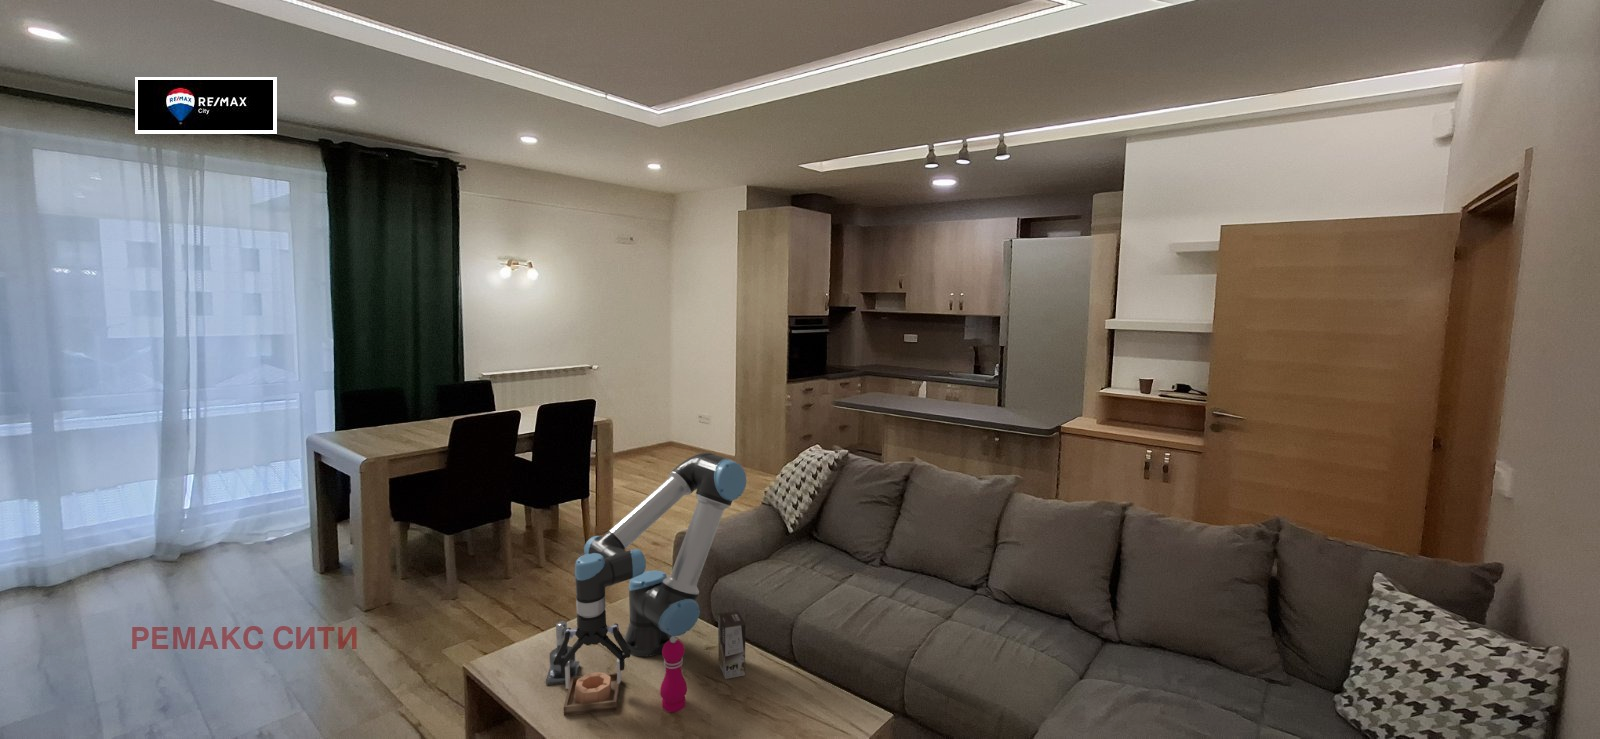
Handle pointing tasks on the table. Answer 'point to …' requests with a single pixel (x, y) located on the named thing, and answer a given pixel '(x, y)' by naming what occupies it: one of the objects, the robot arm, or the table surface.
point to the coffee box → (731, 644)
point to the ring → (593, 688)
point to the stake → (555, 670)
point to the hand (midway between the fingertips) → (593, 683)
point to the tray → (606, 705)
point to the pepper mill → (673, 676)
